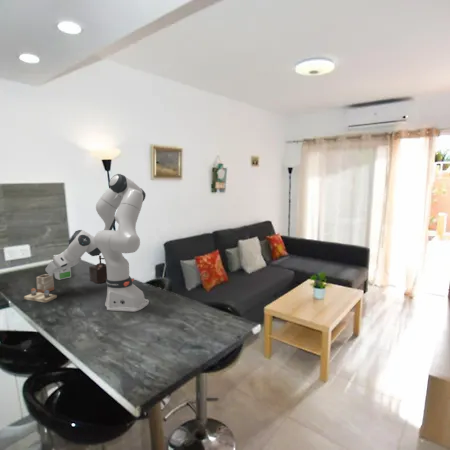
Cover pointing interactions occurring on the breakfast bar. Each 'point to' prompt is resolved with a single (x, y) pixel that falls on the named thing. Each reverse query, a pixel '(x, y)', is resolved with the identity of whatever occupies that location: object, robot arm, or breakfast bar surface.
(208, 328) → the breakfast bar surface
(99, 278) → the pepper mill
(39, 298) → the pin board
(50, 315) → the breakfast bar surface
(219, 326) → the breakfast bar surface
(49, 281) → the sleeve
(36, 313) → the breakfast bar surface
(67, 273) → the skincare box
